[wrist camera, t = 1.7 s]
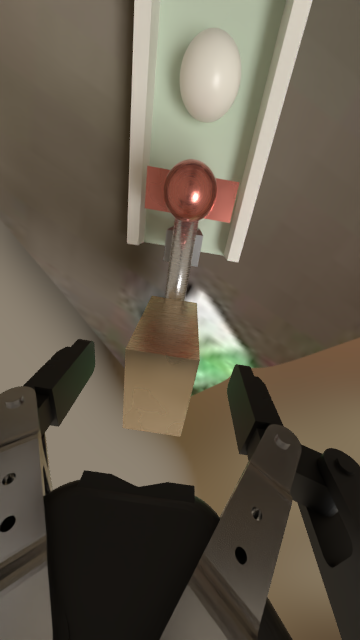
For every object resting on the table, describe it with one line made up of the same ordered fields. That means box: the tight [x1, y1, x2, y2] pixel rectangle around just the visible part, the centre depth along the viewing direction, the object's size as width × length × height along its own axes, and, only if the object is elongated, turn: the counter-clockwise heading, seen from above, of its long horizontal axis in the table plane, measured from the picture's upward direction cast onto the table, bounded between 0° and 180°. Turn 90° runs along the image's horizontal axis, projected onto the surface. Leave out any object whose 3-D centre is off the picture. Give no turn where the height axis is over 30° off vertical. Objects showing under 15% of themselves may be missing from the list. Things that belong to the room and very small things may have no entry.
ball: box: [180, 28, 241, 123], centre depth 13 cm, size 4×4×4 cm
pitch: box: [127, 0, 312, 267], centre depth 13 cm, size 22×10×8 cm, turn 171°
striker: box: [123, 159, 240, 436], centre depth 14 cm, size 12×5×14 cm, turn 171°
